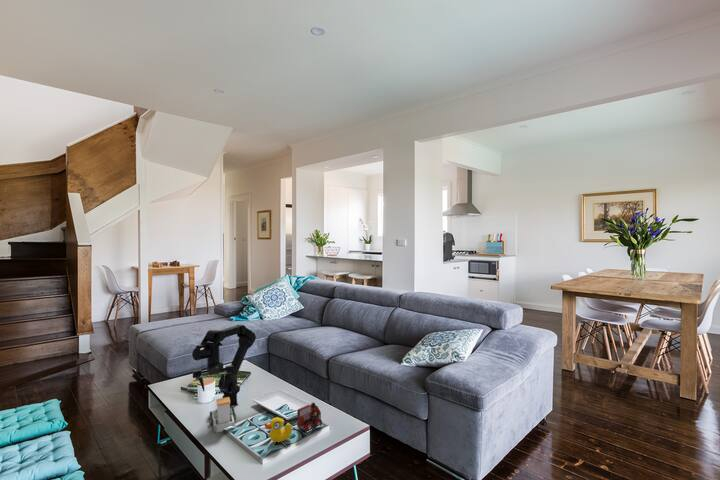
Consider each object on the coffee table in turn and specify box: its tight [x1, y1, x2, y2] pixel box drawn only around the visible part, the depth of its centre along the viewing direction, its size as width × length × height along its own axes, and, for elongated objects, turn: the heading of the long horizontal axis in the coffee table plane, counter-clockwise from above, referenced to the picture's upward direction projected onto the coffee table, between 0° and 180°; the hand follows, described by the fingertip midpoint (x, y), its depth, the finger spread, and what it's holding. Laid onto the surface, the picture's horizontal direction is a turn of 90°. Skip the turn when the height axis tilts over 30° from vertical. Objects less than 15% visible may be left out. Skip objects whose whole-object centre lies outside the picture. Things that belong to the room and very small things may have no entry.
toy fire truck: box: [296, 402, 323, 433], centre depth 170 cm, size 7×12×10 cm, turn 135°
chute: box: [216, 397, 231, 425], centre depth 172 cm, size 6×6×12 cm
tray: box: [251, 388, 311, 421], centre depth 189 cm, size 17×31×4 cm, turn 46°
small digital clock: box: [209, 406, 237, 434], centre depth 176 cm, size 11×17×3 cm, turn 24°
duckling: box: [264, 417, 293, 443], centre depth 159 cm, size 11×5×10 cm, turn 115°
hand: (214, 389), depth 183 cm, fingers open, 9 cm apart
